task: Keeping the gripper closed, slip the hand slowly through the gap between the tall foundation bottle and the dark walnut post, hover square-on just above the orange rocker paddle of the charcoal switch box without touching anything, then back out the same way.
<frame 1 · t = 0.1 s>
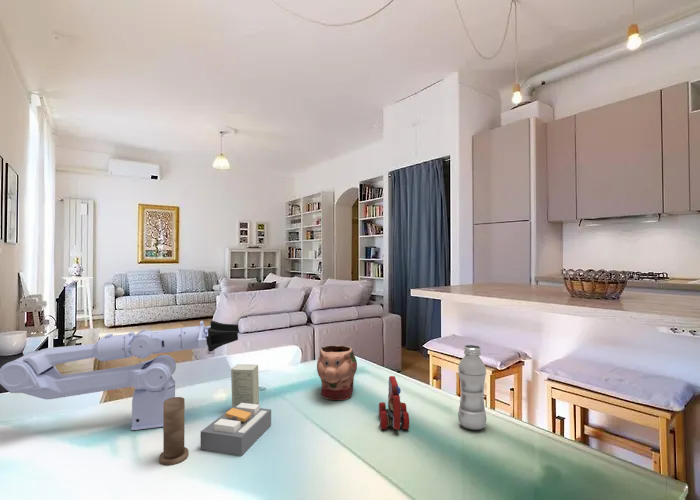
hand: (238, 332, 99), 22 cm above the table, tool horizontal, fingers open, 7 cm apart
plastic bottle: (471, 428, 92), on the table
toy fire truck: (393, 424, 94), on the table
skincare box: (245, 412, 100), on the table
switch box: (238, 436, 87), on the table
decorative planter: (336, 393, 113), on the table
walnut post: (174, 457, 78), on the table
breaker paddle: (238, 416, 87), point 5 cm above the table, hinge at 8.0°
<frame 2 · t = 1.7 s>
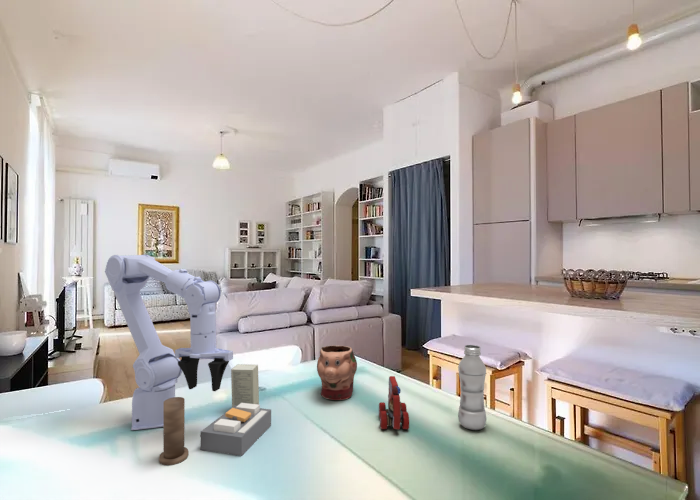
hand: (204, 388, 89), 10 cm above the table, tool pointing down, fingers open, 6 cm apart
nothing on the table moved.
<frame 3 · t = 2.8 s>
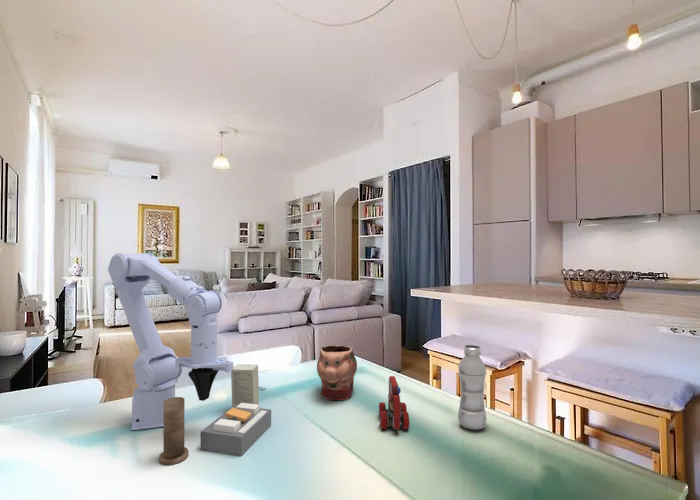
hand: (204, 398, 89), 8 cm above the table, tool pointing down, fingers closed
nothing on the table moved.
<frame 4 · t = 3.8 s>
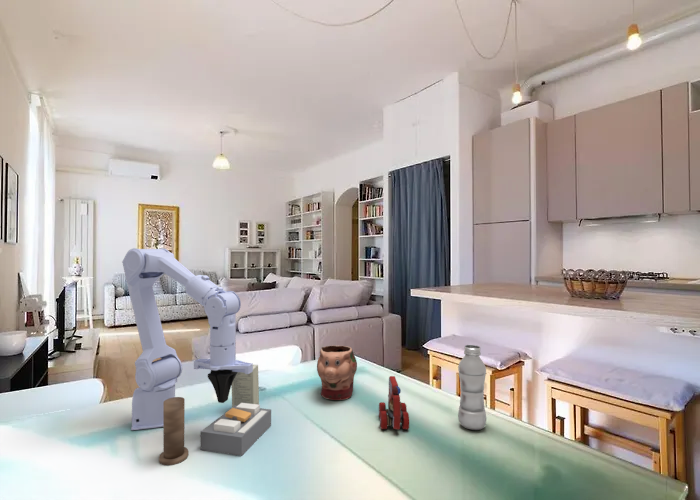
hand: (223, 401, 88), 8 cm above the table, tool pointing down, fingers closed
nothing on the table moved.
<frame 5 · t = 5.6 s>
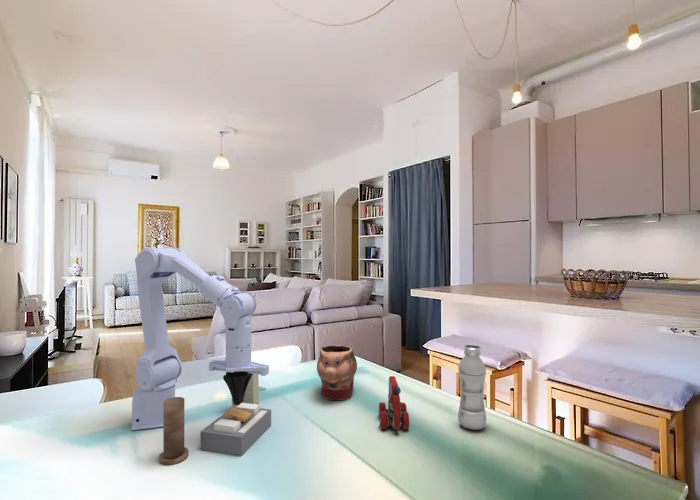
hand: (238, 403, 87), 8 cm above the table, tool pointing down, fingers closed
nothing on the table moved.
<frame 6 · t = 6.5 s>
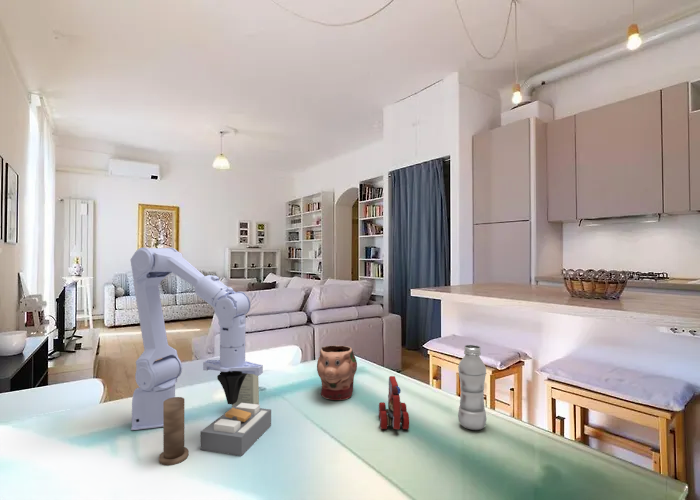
hand: (232, 402, 87), 8 cm above the table, tool pointing down, fingers closed
nothing on the table moved.
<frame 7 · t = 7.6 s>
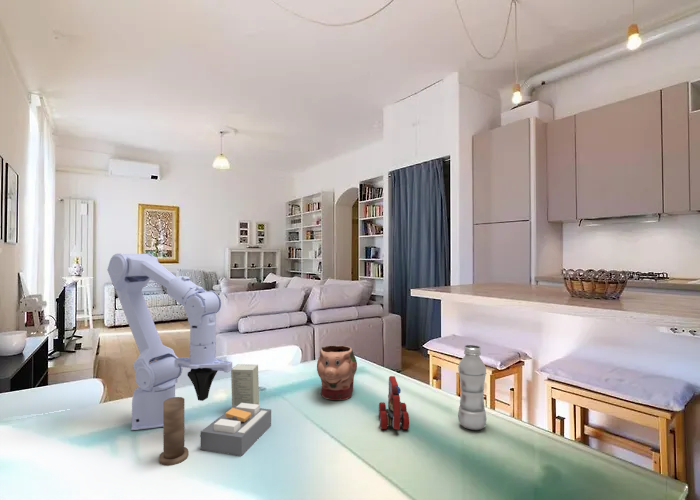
hand: (202, 398, 89), 8 cm above the table, tool pointing down, fingers closed
nothing on the table moved.
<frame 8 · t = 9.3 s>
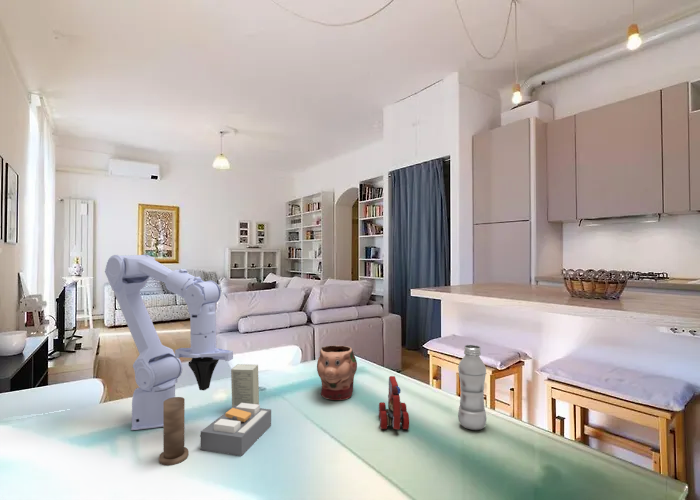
hand: (204, 388, 89), 10 cm above the table, tool pointing down, fingers closed
nothing on the table moved.
at the end: walnut post moved 0.0 cm from its start; skincare box moved 0.2 cm from its start; breaker paddle at +8° (first picture: +8°) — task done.
